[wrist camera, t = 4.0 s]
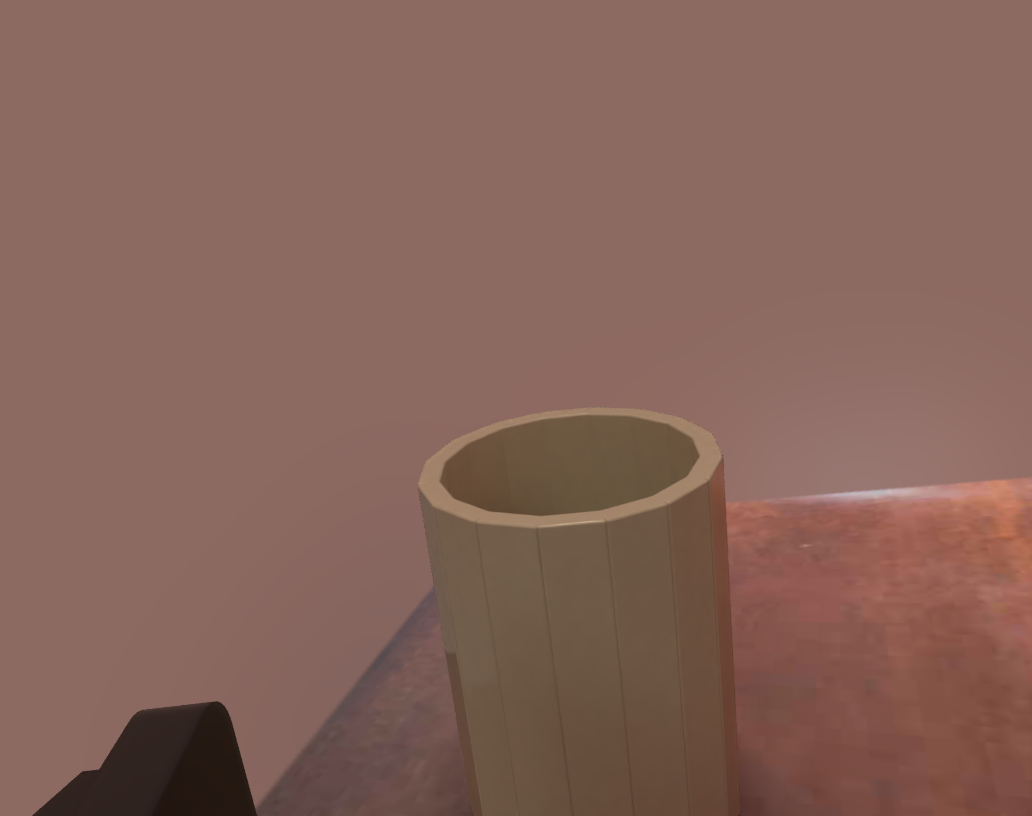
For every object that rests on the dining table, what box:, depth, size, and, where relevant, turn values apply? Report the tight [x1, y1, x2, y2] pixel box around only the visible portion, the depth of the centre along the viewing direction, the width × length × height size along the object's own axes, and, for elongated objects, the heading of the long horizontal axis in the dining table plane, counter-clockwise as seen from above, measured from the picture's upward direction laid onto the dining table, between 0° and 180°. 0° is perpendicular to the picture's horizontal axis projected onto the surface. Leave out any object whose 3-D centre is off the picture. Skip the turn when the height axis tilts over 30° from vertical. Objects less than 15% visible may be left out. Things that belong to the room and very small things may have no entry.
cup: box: [417, 407, 740, 816], centre depth 22 cm, size 7×7×10 cm
